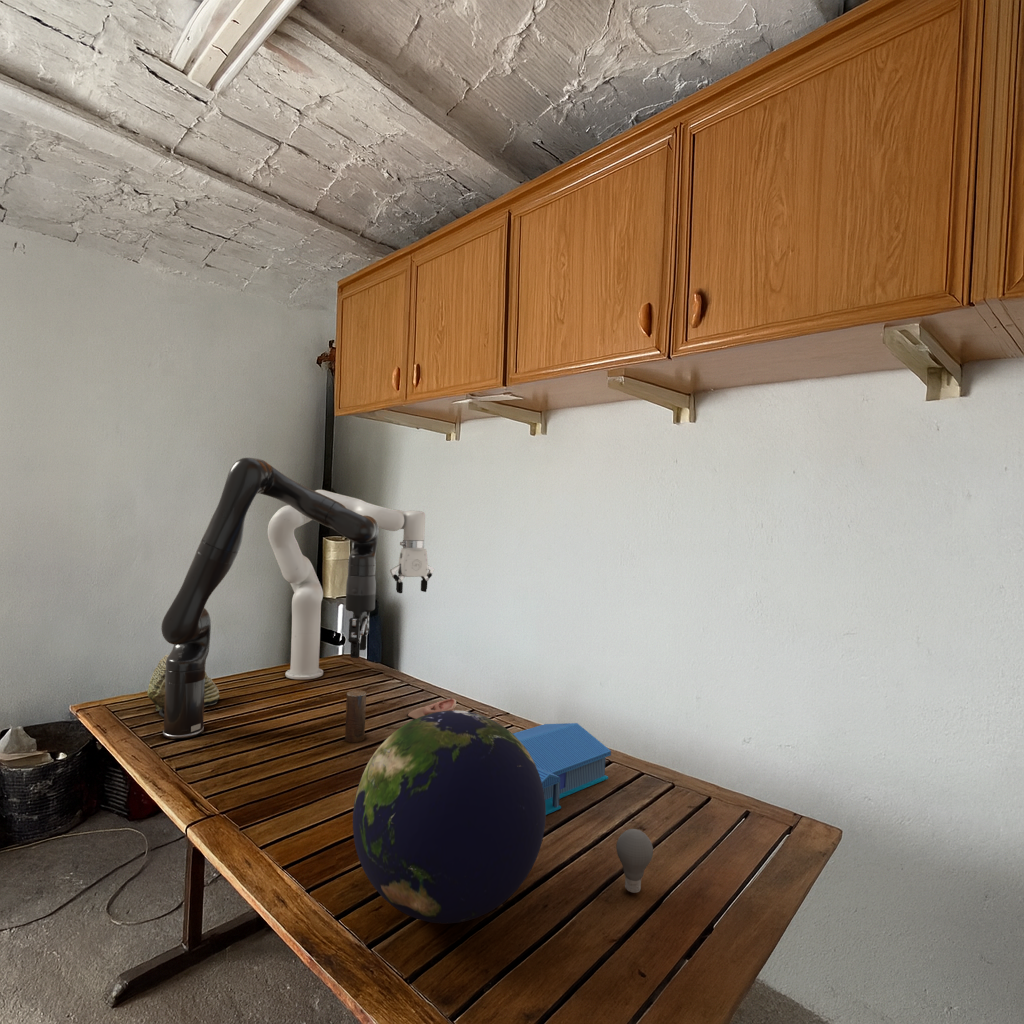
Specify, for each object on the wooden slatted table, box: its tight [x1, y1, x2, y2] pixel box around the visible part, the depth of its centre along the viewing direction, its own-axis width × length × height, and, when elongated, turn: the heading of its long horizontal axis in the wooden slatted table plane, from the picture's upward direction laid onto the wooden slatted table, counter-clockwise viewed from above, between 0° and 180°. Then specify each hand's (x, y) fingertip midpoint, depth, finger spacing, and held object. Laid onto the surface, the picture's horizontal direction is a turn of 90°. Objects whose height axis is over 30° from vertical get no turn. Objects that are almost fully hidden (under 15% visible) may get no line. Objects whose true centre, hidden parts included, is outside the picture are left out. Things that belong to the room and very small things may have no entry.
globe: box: [352, 709, 547, 925], centre depth 100 cm, size 30×30×30 cm
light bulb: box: [615, 828, 654, 894], centre depth 106 cm, size 6×6×10 cm
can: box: [344, 689, 367, 743], centre depth 166 cm, size 5×5×12 cm
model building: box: [512, 722, 612, 816], centre depth 142 cm, size 39×24×10 cm, turn 132°
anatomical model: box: [407, 698, 457, 719], centre depth 186 cm, size 13×4×12 cm
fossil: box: [147, 654, 221, 712], centre depth 185 cm, size 9×18×15 cm, turn 132°
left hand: (358, 653), depth 166 cm, fingers open, 8 cm apart
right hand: (411, 592), depth 229 cm, fingers open, 9 cm apart
